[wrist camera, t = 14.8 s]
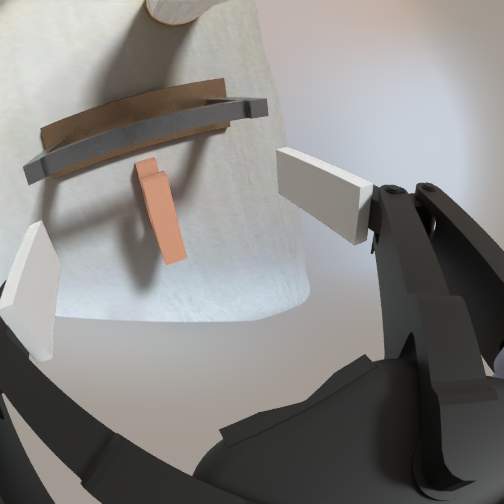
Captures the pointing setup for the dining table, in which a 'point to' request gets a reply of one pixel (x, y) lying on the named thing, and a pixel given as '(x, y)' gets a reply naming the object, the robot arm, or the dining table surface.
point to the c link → (161, 210)
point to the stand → (138, 125)
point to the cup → (178, 10)
